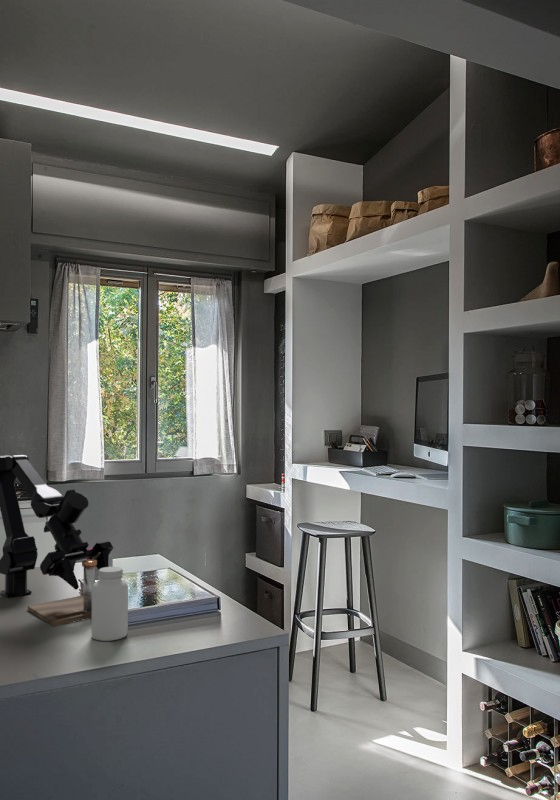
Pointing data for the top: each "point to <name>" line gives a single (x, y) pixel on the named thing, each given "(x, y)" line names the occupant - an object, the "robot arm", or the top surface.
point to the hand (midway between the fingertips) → (92, 584)
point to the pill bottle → (109, 605)
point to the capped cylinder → (88, 584)
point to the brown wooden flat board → (61, 611)
